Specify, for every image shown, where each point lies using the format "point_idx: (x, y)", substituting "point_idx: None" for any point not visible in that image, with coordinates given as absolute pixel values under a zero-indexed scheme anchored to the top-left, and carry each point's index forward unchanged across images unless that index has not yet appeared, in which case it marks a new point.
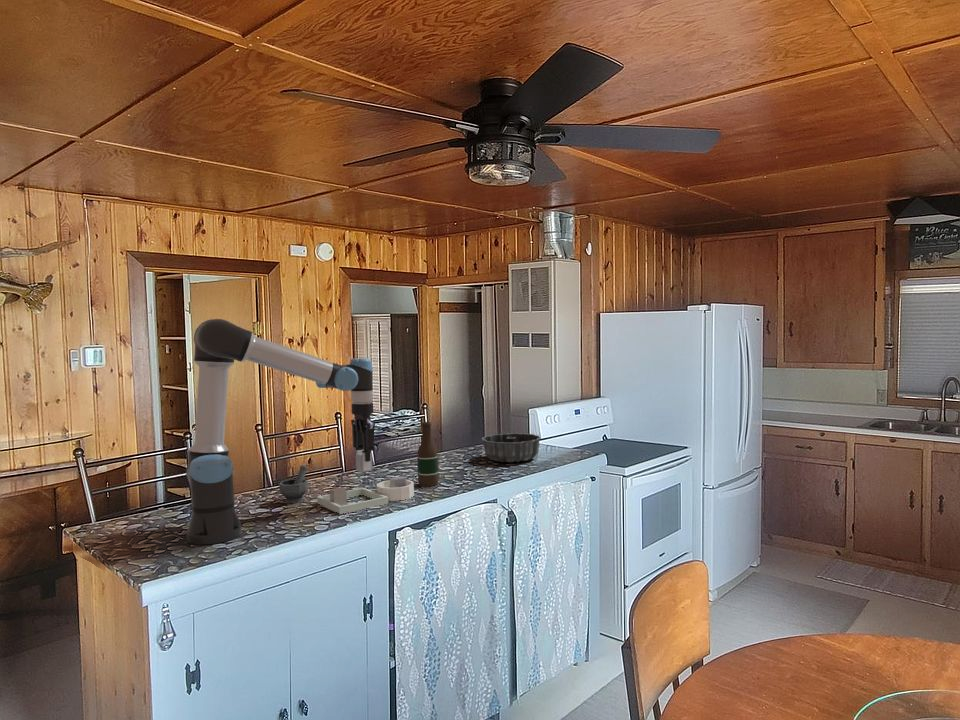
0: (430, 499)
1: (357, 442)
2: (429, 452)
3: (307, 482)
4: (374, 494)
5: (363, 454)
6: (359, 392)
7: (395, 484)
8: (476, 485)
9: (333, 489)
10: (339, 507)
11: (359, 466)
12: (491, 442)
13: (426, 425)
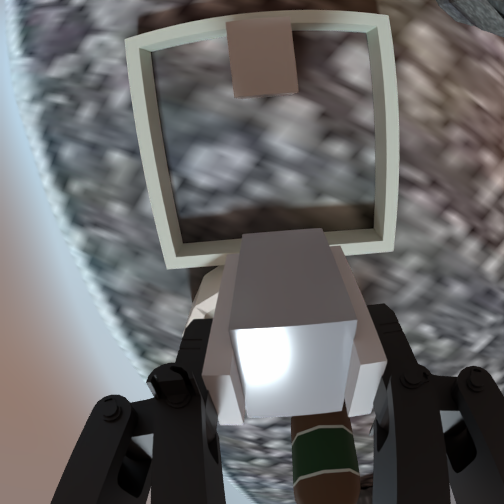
0: (160, 362)
1: (400, 463)
2: (299, 497)
3: (492, 20)
4: None
5: (207, 357)
6: None
7: None
8: (230, 451)
9: (278, 33)
10: (129, 38)
11: (267, 253)
12: None
13: None
